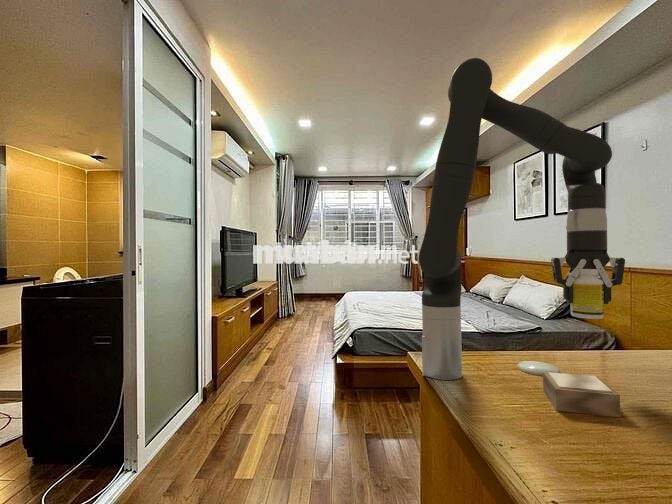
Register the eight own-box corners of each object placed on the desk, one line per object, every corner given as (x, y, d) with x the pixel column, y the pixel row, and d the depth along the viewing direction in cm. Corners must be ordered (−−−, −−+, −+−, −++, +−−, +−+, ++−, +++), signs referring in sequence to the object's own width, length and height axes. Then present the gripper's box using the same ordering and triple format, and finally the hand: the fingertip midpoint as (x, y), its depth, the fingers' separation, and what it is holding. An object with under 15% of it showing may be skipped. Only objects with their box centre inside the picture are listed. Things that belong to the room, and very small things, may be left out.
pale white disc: (521, 373, 86) (521, 370, 86) (515, 362, 94) (515, 360, 94) (563, 377, 83) (563, 373, 83) (553, 365, 92) (553, 362, 92)
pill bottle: (610, 320, 76) (609, 269, 76) (578, 319, 77) (578, 269, 77) (594, 315, 82) (594, 268, 82) (565, 314, 83) (565, 268, 83)
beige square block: (556, 410, 66) (555, 387, 66) (543, 390, 75) (542, 370, 75) (620, 417, 62) (619, 393, 63) (598, 395, 72) (597, 375, 72)
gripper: (554, 229, 78) (555, 304, 78) (632, 227, 74) (633, 307, 74) (546, 231, 86) (546, 299, 85) (616, 230, 81) (617, 302, 81)
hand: (586, 302), depth 80 cm, fingers closed on pill bottle, 6 cm apart
